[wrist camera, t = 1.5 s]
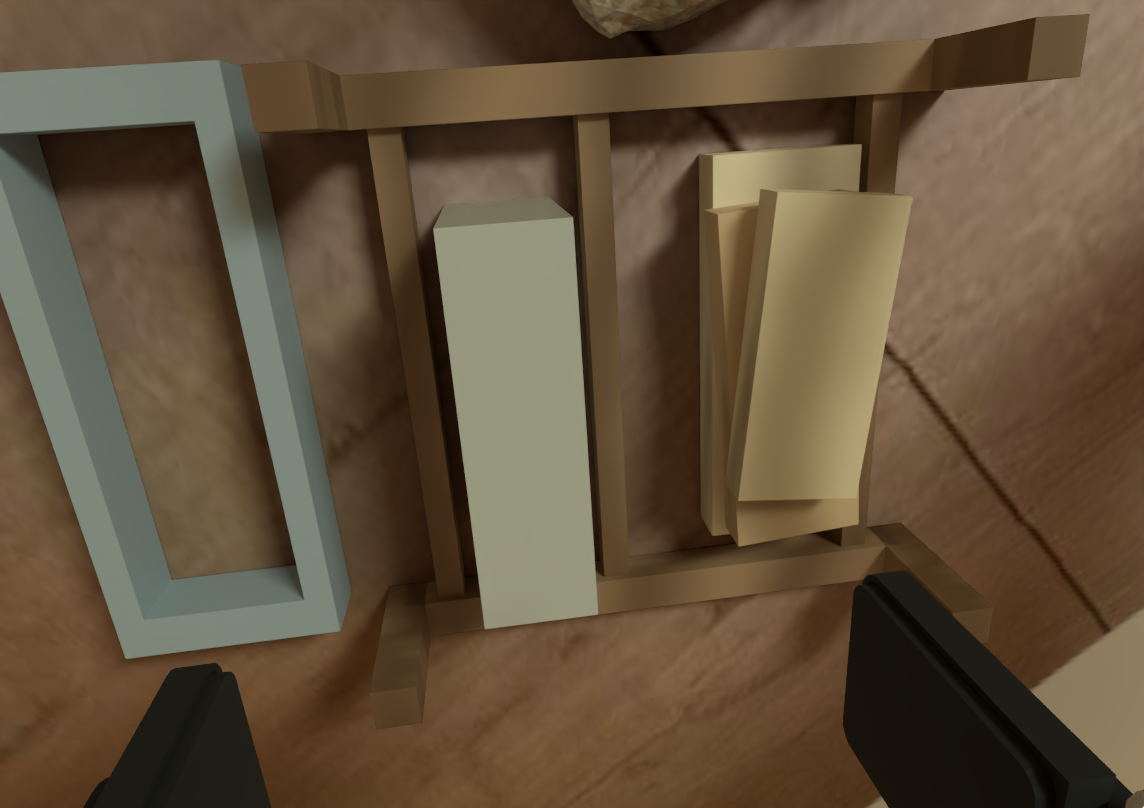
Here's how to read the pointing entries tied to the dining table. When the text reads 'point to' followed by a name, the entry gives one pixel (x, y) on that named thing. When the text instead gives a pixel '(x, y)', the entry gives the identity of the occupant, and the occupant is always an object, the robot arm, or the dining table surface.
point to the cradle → (81, 378)
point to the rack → (589, 94)
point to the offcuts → (790, 335)
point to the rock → (640, 14)
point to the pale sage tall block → (520, 405)
